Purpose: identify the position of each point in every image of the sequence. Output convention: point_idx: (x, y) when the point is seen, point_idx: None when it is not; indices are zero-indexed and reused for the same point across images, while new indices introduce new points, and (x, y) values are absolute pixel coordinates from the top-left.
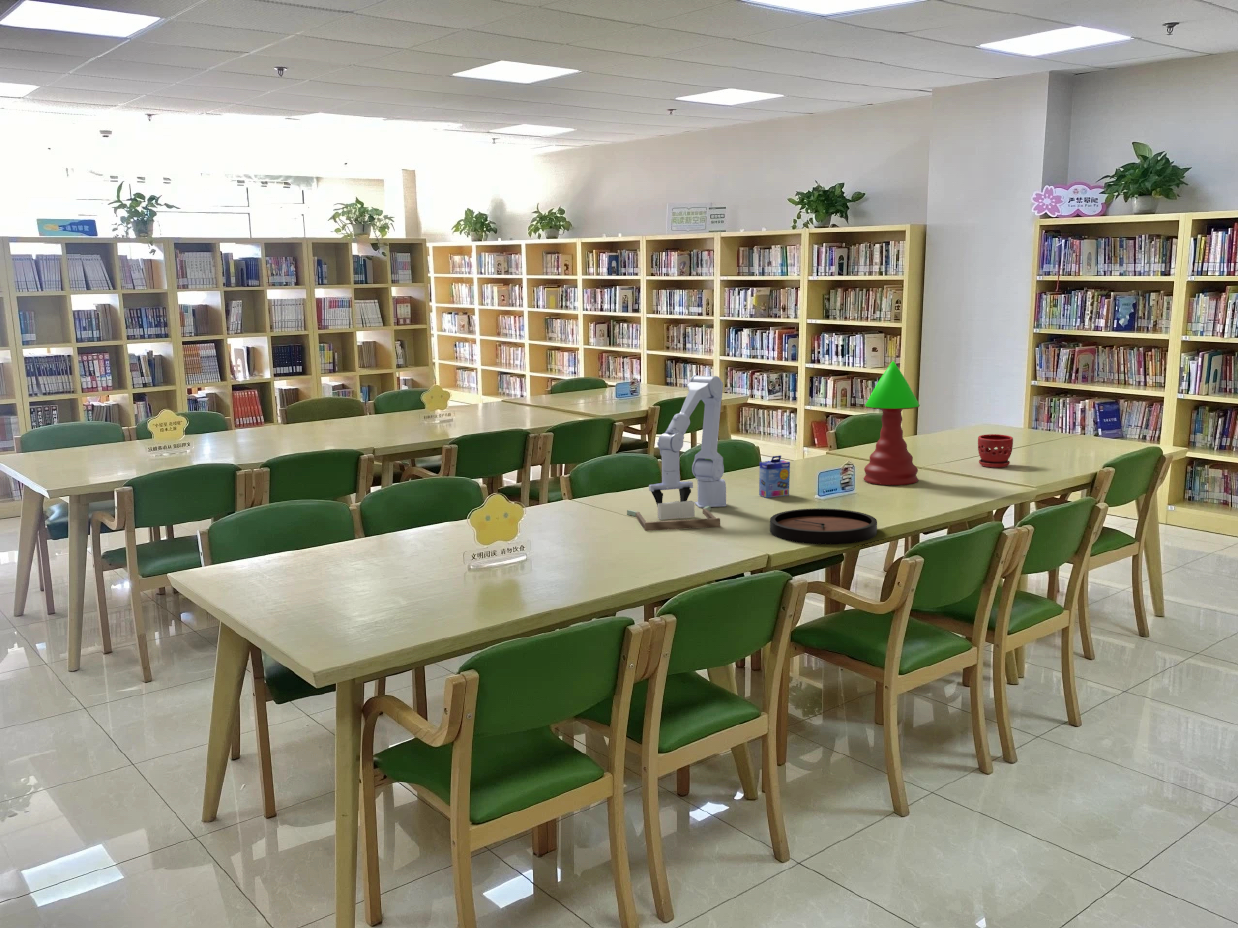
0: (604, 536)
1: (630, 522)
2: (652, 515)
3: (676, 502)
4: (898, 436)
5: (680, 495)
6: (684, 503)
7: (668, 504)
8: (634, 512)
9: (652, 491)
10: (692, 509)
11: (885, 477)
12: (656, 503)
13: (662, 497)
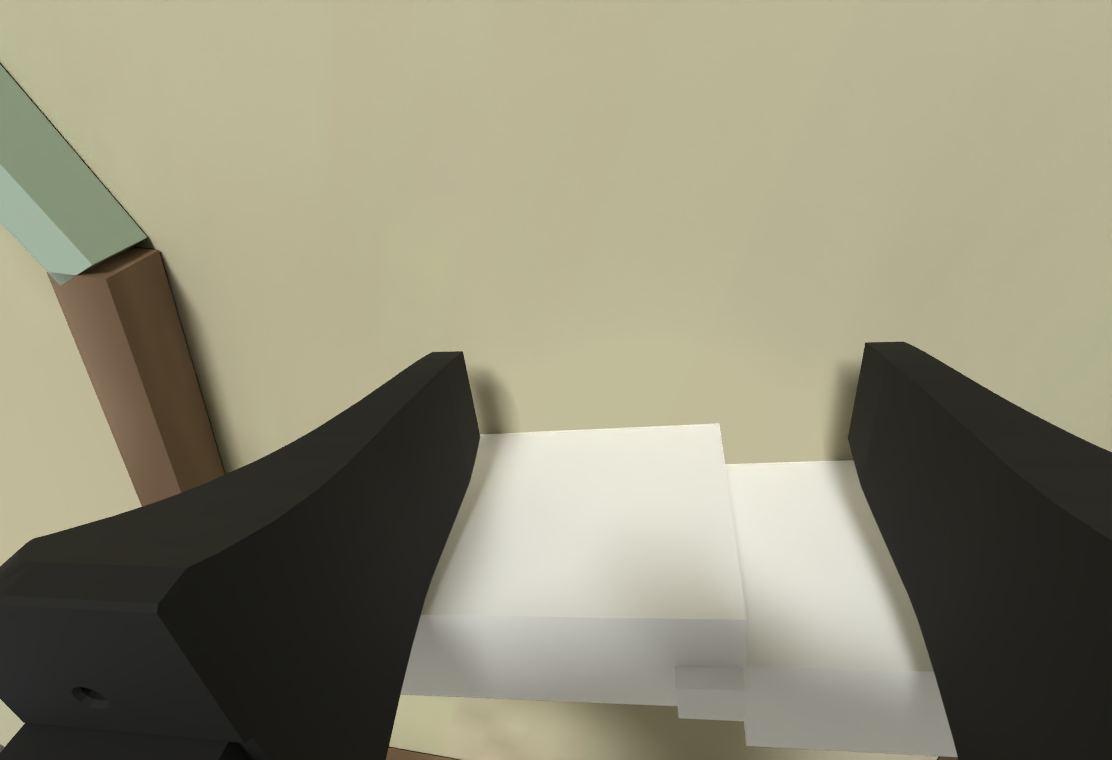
0: (7, 736)
1: (101, 490)
2: (362, 242)
3: (680, 702)
4: None
5: (1018, 539)
6: (807, 741)
7: (517, 692)
8: (29, 242)
9: (46, 718)
10: None
11: None
12: (339, 421)
13: (388, 727)
